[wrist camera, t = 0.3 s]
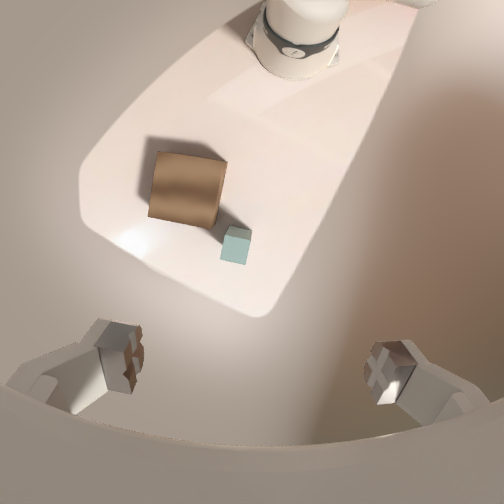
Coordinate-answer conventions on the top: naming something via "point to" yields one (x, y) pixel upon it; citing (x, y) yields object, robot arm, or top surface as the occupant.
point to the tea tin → (236, 245)
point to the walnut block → (186, 189)
